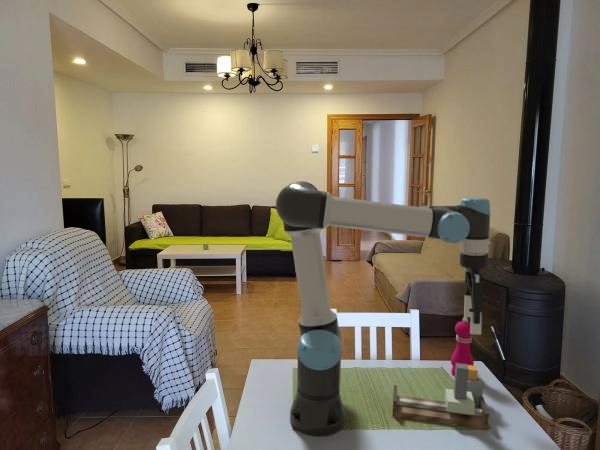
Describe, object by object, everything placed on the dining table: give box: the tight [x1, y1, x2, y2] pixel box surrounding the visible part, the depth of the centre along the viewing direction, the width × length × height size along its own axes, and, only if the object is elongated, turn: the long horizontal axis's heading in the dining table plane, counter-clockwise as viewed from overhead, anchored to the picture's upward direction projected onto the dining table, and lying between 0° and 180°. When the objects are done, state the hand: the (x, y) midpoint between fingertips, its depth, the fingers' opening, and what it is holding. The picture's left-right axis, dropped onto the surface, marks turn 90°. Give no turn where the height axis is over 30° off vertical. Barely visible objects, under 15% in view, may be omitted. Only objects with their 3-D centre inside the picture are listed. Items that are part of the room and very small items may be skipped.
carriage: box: [444, 363, 475, 415], centre depth 122 cm, size 7×7×12 cm
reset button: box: [467, 365, 479, 381], centre depth 130 cm, size 3×3×6 cm
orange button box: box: [467, 373, 484, 406], centre depth 130 cm, size 6×6×8 cm
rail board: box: [391, 384, 490, 430], centre depth 125 cm, size 25×9×4 cm, turn 77°
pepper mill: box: [450, 316, 475, 377], centre depth 147 cm, size 7×7×20 cm
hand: (472, 325), depth 127 cm, fingers open, 13 cm apart
